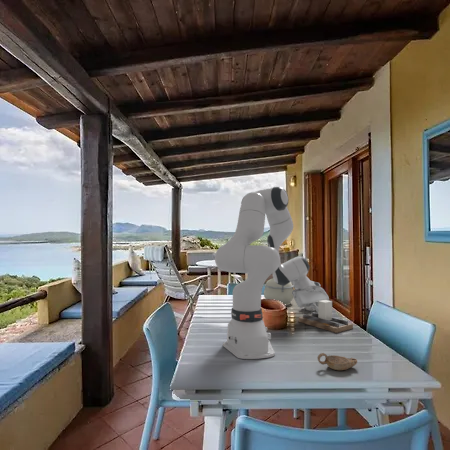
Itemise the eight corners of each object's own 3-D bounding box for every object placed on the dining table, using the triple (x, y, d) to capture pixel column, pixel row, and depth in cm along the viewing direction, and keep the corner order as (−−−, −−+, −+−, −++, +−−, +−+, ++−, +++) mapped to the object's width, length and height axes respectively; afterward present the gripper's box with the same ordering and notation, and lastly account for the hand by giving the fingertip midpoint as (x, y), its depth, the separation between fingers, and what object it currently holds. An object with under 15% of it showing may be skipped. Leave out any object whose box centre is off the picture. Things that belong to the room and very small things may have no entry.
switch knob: (318, 319, 164) (318, 301, 165) (325, 318, 167) (325, 299, 167) (325, 321, 161) (325, 302, 161) (332, 320, 164) (332, 301, 164)
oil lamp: (353, 364, 118) (353, 349, 118) (362, 373, 110) (362, 357, 110) (314, 364, 117) (314, 349, 117) (320, 373, 110) (321, 357, 110)
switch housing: (298, 321, 170) (298, 314, 170) (314, 318, 177) (314, 311, 177) (336, 332, 152) (336, 324, 152) (352, 328, 159) (352, 320, 159)
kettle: (298, 307, 201) (298, 264, 201) (267, 307, 200) (267, 264, 200) (287, 298, 226) (288, 260, 226) (260, 298, 225) (260, 260, 225)
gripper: (293, 286, 167) (309, 310, 159) (321, 282, 179) (337, 305, 171) (287, 294, 170) (302, 318, 162) (314, 290, 182) (330, 312, 174)
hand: (320, 311), depth 166 cm, fingers closed, pressing on switch knob
